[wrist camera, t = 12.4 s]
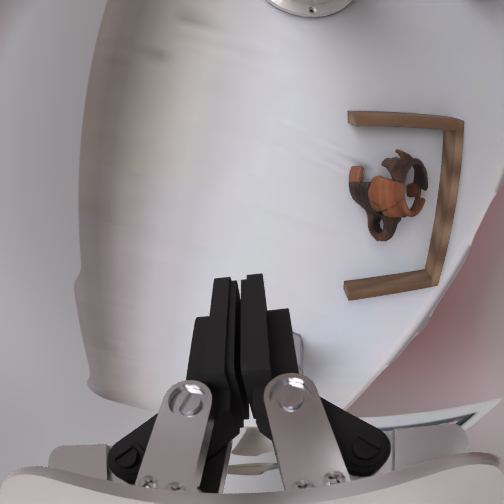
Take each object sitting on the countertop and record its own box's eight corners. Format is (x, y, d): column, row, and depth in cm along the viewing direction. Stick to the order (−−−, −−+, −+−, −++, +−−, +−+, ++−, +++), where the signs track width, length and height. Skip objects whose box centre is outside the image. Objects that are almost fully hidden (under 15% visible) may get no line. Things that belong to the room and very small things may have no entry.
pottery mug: (346, 143, 36) (400, 145, 29) (388, 153, 40) (435, 158, 34) (337, 234, 39) (387, 251, 32) (379, 232, 44) (424, 246, 37)
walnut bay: (347, 110, 33) (355, 113, 30) (451, 117, 32) (463, 120, 30) (343, 288, 47) (348, 300, 44) (429, 275, 46) (437, 285, 44)
